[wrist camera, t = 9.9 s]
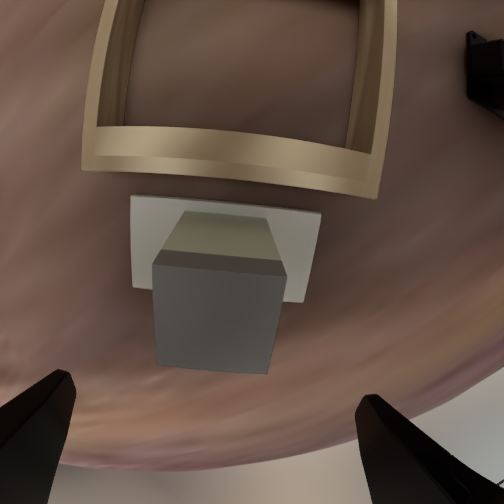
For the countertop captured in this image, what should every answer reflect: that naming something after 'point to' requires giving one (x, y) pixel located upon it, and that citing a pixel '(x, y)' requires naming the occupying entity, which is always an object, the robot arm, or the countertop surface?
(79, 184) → the countertop surface
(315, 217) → the grey mat
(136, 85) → the countertop surface
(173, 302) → the sage box
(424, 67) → the countertop surface
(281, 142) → the wooden frame
